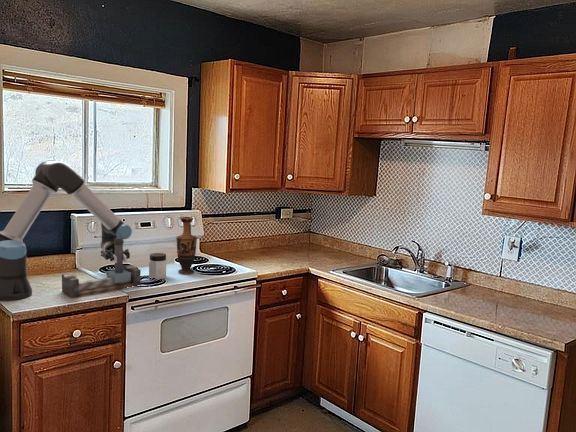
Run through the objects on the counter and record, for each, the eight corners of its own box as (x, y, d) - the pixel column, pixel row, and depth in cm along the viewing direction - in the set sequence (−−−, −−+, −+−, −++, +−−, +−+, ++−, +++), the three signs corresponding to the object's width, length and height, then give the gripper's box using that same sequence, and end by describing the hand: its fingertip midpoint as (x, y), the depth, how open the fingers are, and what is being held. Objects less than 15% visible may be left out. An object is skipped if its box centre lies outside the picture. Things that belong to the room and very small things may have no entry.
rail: (69, 298, 211) (69, 279, 210) (59, 291, 220) (59, 273, 219) (142, 285, 235) (142, 268, 234) (130, 280, 243) (130, 263, 242)
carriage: (114, 283, 227) (114, 239, 224) (106, 279, 233) (106, 236, 230) (131, 280, 232) (131, 237, 229) (122, 276, 239) (122, 234, 236)
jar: (151, 280, 245) (151, 256, 243) (146, 276, 252) (146, 253, 250) (168, 278, 250) (169, 255, 248) (163, 274, 257) (163, 252, 255)
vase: (192, 275, 256) (192, 219, 252) (172, 274, 258) (173, 218, 254) (199, 271, 267) (200, 216, 263) (180, 269, 269) (181, 215, 265)
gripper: (129, 255, 251) (139, 266, 231) (94, 258, 243) (101, 269, 223) (129, 241, 250) (139, 250, 230) (94, 243, 242) (101, 253, 222)
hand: (120, 259), depth 226 cm, fingers closed on carriage, 4 cm apart
